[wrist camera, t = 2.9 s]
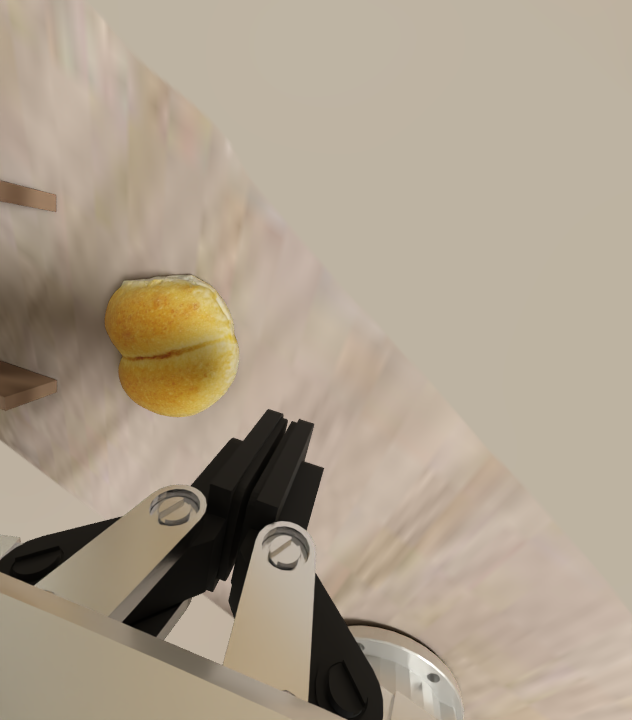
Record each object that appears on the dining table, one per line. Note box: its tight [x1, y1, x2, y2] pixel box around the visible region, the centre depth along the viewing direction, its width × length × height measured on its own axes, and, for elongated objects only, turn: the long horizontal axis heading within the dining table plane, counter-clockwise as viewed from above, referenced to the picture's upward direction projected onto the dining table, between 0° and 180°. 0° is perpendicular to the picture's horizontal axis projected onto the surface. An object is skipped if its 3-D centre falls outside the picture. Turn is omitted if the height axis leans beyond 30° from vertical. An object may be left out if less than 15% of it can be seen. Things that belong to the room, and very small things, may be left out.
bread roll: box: [105, 275, 239, 417], centre depth 19 cm, size 8×9×4 cm
